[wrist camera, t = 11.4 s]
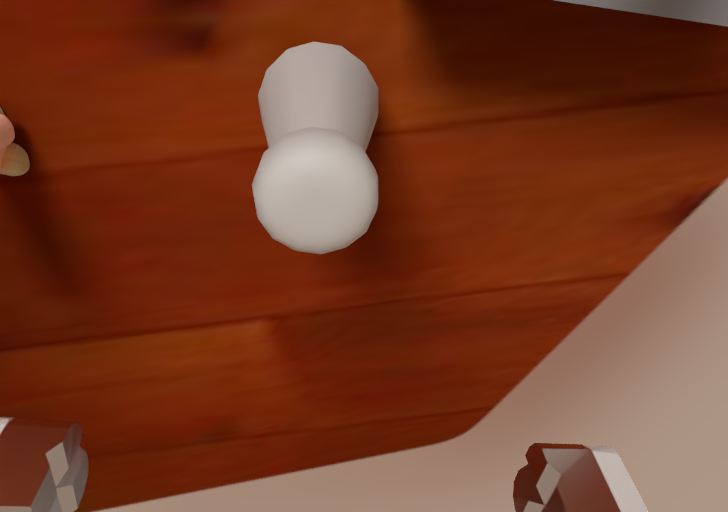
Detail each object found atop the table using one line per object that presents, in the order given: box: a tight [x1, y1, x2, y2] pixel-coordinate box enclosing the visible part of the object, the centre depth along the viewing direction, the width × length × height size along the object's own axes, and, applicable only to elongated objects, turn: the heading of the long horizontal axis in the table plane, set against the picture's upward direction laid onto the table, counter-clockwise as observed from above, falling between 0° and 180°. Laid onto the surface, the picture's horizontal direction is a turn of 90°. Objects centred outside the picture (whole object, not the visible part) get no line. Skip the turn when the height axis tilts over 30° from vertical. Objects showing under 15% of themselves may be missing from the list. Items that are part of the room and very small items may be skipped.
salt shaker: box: [252, 42, 378, 254], centre depth 23 cm, size 6×6×13 cm
